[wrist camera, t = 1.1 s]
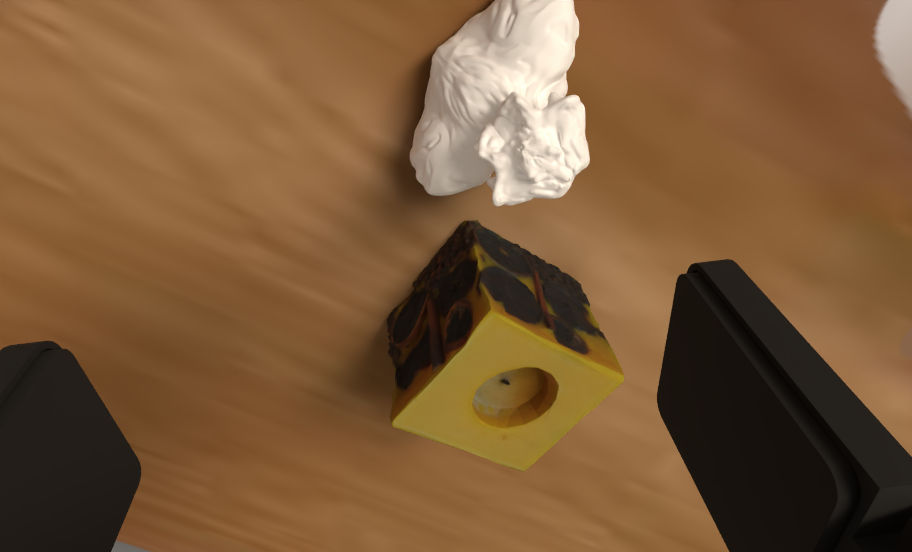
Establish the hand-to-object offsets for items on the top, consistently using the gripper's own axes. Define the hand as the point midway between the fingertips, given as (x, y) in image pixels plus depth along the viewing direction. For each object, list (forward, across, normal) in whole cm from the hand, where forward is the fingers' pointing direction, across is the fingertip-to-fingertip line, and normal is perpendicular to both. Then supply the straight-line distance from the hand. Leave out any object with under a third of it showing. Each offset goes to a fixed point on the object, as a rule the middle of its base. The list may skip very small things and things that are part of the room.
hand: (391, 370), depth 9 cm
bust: (+26, -5, +3) cm, 26 cm away
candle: (+26, -4, +18) cm, 32 cm away
